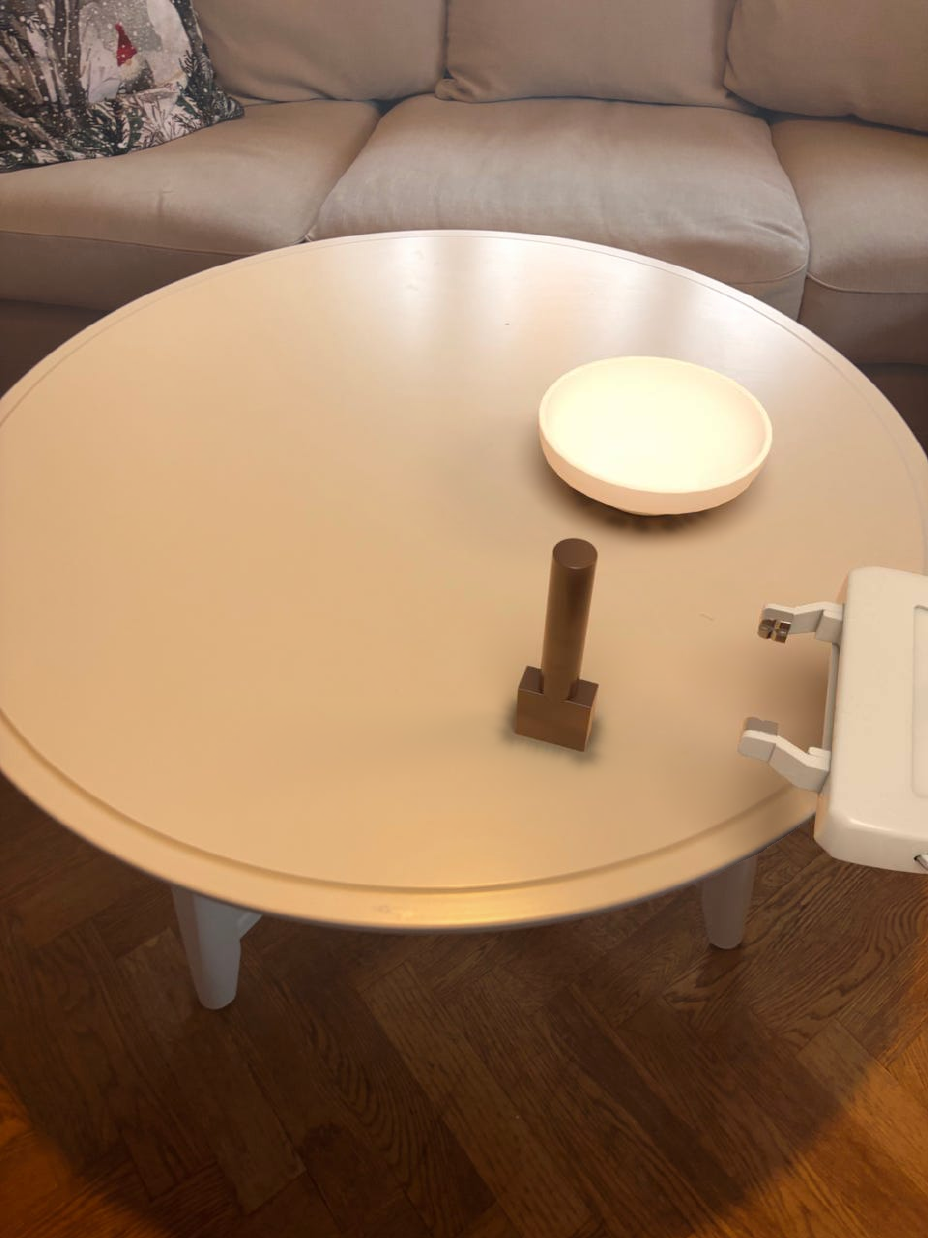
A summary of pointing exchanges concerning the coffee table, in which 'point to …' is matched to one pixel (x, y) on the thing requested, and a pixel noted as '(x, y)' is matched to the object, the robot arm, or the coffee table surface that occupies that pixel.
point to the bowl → (653, 434)
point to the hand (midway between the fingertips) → (750, 673)
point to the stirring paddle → (562, 655)
